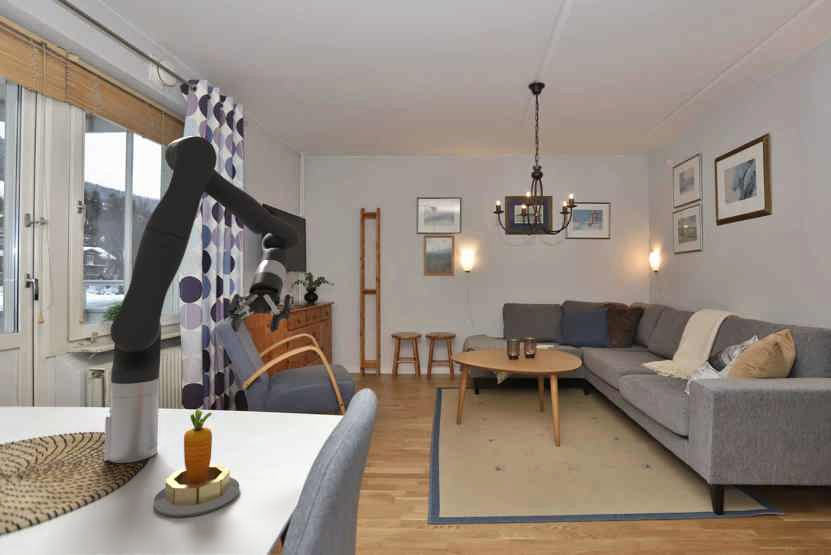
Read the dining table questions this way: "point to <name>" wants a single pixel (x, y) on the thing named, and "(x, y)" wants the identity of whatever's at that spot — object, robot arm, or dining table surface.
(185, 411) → the dining table surface
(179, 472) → the hub socket
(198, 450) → the carrot
